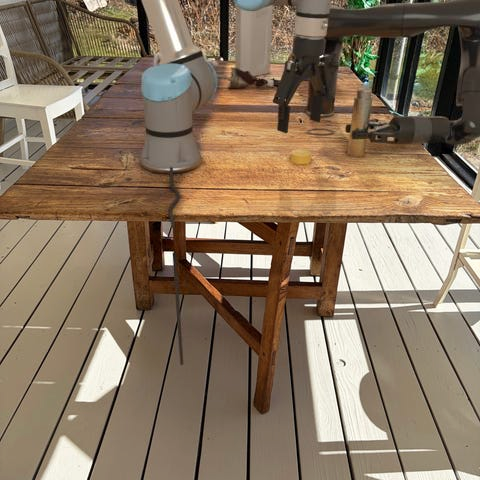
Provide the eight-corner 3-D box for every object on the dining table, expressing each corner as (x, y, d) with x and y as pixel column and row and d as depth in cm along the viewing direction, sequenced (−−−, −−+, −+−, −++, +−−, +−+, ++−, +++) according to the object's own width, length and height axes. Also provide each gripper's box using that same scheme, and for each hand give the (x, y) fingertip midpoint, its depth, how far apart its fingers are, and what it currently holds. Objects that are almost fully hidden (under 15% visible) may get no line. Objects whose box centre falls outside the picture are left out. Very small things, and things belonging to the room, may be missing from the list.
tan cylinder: (357, 158, 128) (367, 92, 119) (343, 153, 131) (352, 89, 122) (367, 154, 131) (377, 89, 122) (353, 149, 133) (362, 86, 125)
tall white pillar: (273, 76, 210) (276, 6, 196) (239, 77, 209) (240, 6, 194) (266, 67, 226) (268, 2, 212) (235, 67, 225) (235, 1, 210)
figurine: (210, 87, 179) (288, 95, 182) (212, 65, 176) (291, 73, 180) (208, 84, 201) (278, 91, 205) (210, 64, 198) (280, 71, 202)
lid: (311, 158, 127) (312, 150, 126) (309, 165, 123) (310, 157, 122) (292, 156, 128) (292, 148, 127) (289, 163, 124) (289, 155, 123)
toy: (173, 75, 210) (172, 58, 207) (149, 64, 228) (148, 49, 224) (220, 69, 222) (220, 53, 218) (194, 59, 239) (193, 45, 236)
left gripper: (289, 44, 100) (279, 140, 111) (352, 34, 116) (338, 120, 127) (262, 38, 104) (255, 132, 116) (327, 30, 120) (315, 113, 131)
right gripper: (402, 109, 133) (342, 110, 131) (424, 124, 121) (359, 126, 119) (397, 135, 137) (339, 136, 135) (418, 152, 125) (355, 154, 123)
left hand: (299, 126), depth 121 cm, fingers open, 13 cm apart
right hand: (349, 131), depth 127 cm, fingers closed on tan cylinder, 4 cm apart
